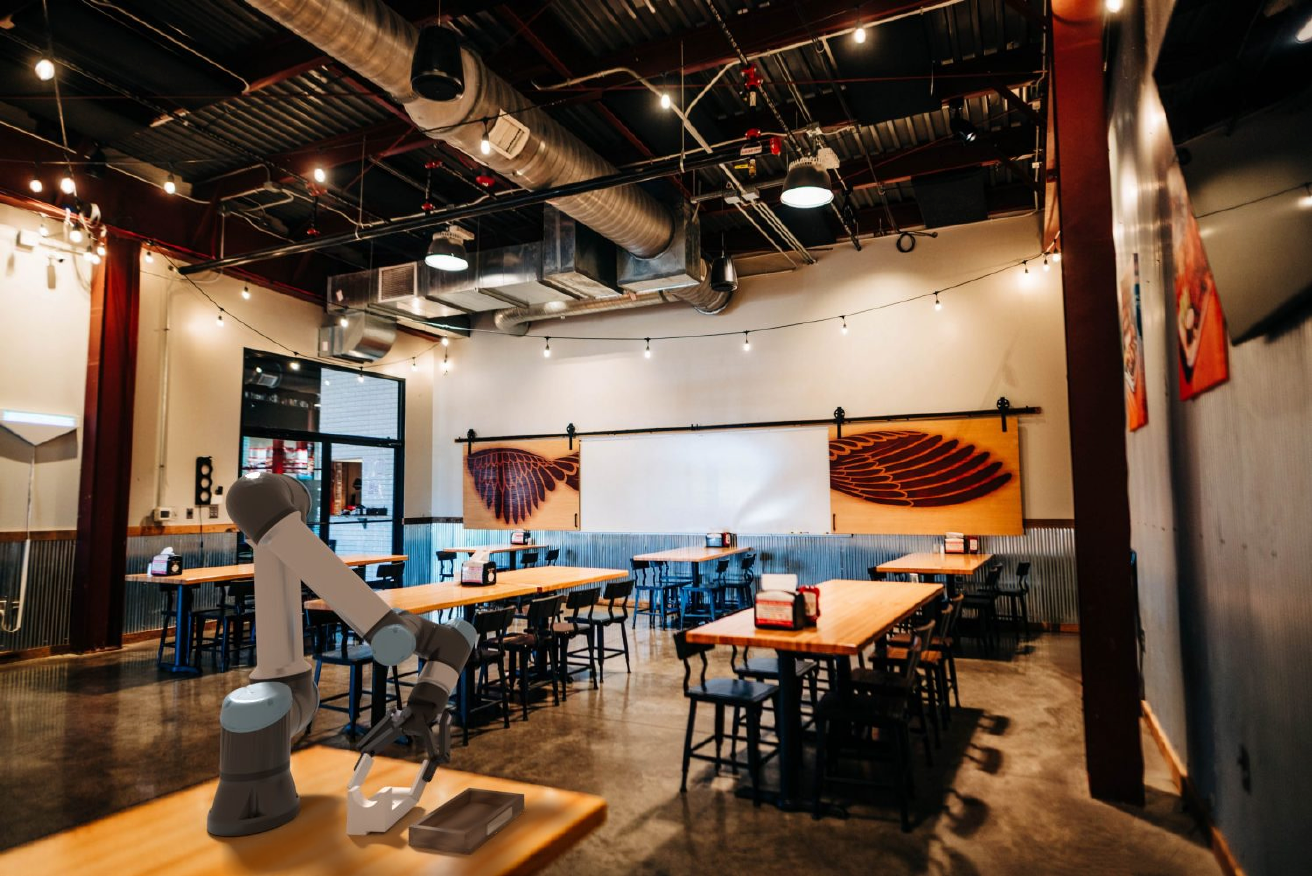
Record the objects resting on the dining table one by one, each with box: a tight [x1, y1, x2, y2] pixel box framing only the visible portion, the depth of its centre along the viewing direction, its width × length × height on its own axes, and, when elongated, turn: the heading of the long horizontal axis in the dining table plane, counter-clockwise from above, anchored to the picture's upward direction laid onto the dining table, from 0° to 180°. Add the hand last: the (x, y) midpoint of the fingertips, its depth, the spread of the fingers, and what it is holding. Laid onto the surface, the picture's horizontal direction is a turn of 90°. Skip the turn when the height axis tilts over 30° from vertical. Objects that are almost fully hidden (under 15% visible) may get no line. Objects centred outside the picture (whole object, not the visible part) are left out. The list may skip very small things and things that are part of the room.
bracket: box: [346, 786, 419, 836], centre depth 136 cm, size 13×7×8 cm, turn 172°
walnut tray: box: [408, 787, 525, 855], centre depth 131 cm, size 12×18×3 cm
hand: (382, 794), depth 135 cm, fingers open, 13 cm apart
